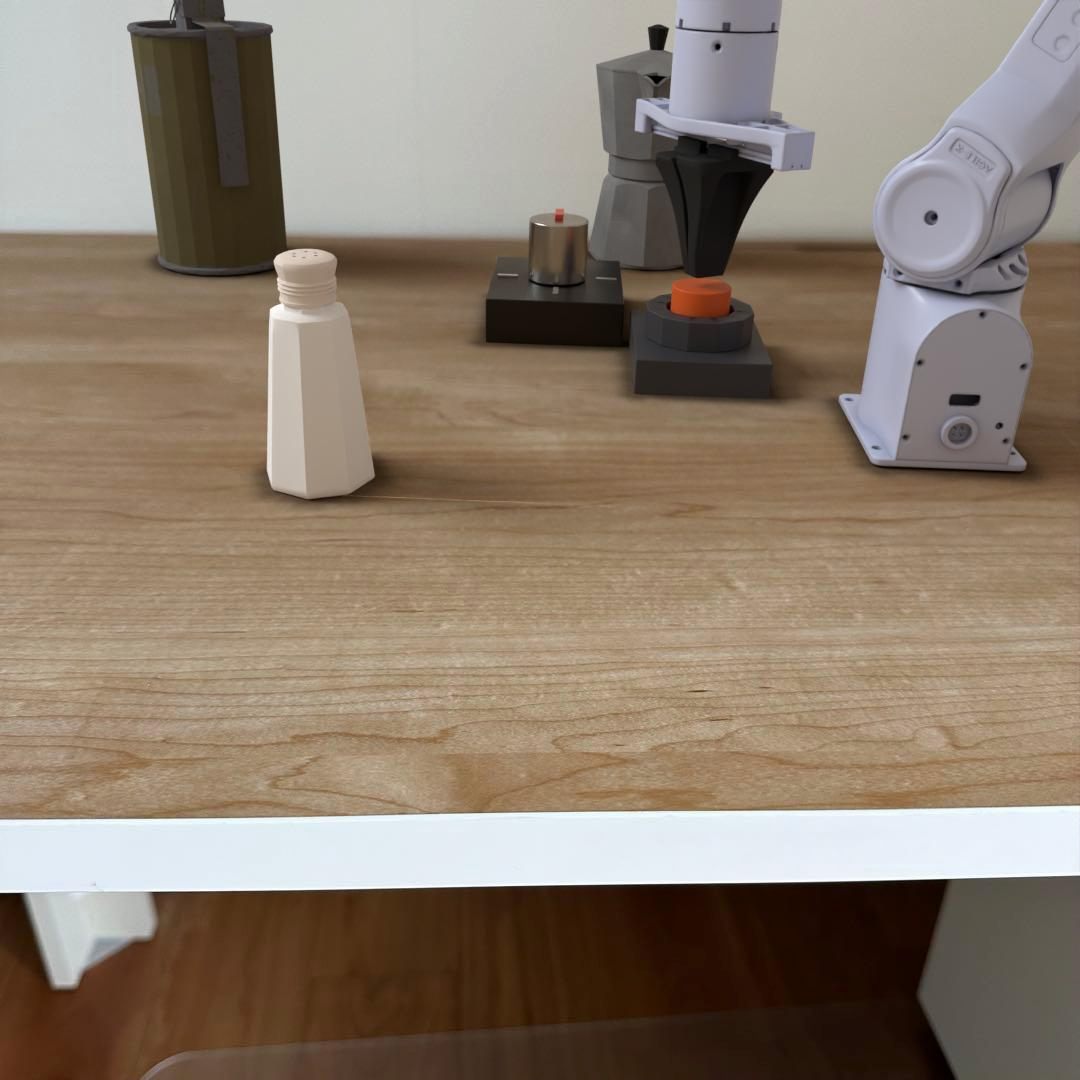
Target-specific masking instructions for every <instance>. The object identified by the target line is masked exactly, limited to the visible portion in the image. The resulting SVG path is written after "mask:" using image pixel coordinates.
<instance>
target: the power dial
mask: <svg viewBox="0 0 1080 1080" xmlns="http://www.w3.org/2000/svg"><path fill="white" fill-rule="evenodd" d="M528 225H529V226H528V257H527V258H528V277H529V279H530V280H532V281H534V282H537V283H540V284H546V285H558V286H562V285H574V284H578V283H581V282H583V281H585V279H586V265H587V260H588V242H589V219H588V218H587V217H585V216H582V215H578V214H573V213H567V212H566V213H565V209H564V208H555V212H547V213H538V214H535V215H532V216H530V217H529V222H528Z"/></svg>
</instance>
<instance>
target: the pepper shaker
mask: <svg viewBox="0 0 1080 1080" xmlns="http://www.w3.org/2000/svg"><path fill="white" fill-rule="evenodd" d="M274 266H275V268H274V269H275V271H276V274H277V278H276V281H277V283H276V284H277V290H278V291H279V297H278V300H279V304H277V305H274V306H273V307H271V308H270V309H269V320H268V364H267V365H268V367H267V368H268V371H267V430H266V431H267V439H266V443H267V444H266V472H267V475H268V479H269V483H270V487H271V490H273V491H276V492H279V493H283V494H287V495H290V496H295V497H297V498H301V499H305V500H312V499H314V500H315V499H321V498H331V497H339V496H348V495H350V494H352V493H354V492H355V491H357V490H358V489H359V488H361V487H362V486H364V485H365V484H367V483H369V482H370V481H372V480H374V478H375V477H376V474H375V468H374V462H373V457H372V456H373V455H372V449H371V443H370V436H369V431H368V424H367V417H366V412H365V411H366V410H365V406H364V399H363V393H362V386H361V379H360V373H359V367H358V366H359V365H358V361H357V360H358V359H357V354H356V348H355V341H354V335H353V330H352V323H351V319H350V315H349V312H348V310H347V308H346V306H345V304H343V303H342V302H341V301H337V300H338V296H337V294H336V293H337V292H336V290H337V288H338V286H337V284H338V282H337V276H336V270H337V266H338V258H337V257H336V256H335V254H333V253H331V252H328V251H326V250H322V249H317V248H296V249H289V251H286V252H283V253H281V254H279V255H277V256H276V258H275V259H274Z"/></svg>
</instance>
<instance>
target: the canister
mask: <svg viewBox="0 0 1080 1080" xmlns="http://www.w3.org/2000/svg"><path fill="white" fill-rule="evenodd" d="M225 10H226V9H225V3H224V0H173V3H172V6H171V9H170V12H169V19H154V20H153V19H151V20H141V21H134V22H128V24H127V25H126V30H127V32H129V36H130V41H131V42H130V43H131V49H132V55H133V56H132V57H133V64H134V72H135V79H136V87H137V93H138V101H139V109H140V115H141V125H142V131H143V138H144V146H145V153H146V161H147V167H148V168H147V169H148V176H149V185H150V191H151V197H152V205H153V212H154V219H155V220H154V221H155V226H156V228H155V229H156V234H157V235H156V236H157V241H158V251H159V253H158V254H157V262H158V263H159V265H160V266H161V267H163V268H164V269H167V270H170V271H172V272H176V273H179V274H186V275H193V276H236V275H237V276H238V275H246V274H254V273H261V272H265V271H270V270H273V269H275V266H274V259H275V258H276V256H277V255H279V254H281V253H283V252H286V251H289V250H290V249H289V247H288V242H287V229H286V228H287V227H286V217H285V216H286V215H285V203H284V189H283V188H284V187H283V177H282V165H281V164H282V163H281V151H280V139H279V137H280V136H279V126H278V124H279V123H278V110H277V99H276V98H277V97H276V87H275V73H274V72H275V71H274V60H273V59H274V58H273V47H272V34H273V32H274V28H273V25H272V24H269V23H266V22H259V21H250V20H249V21H248V20H229V19H228V20H227V19H226V11H225ZM173 11H174V13H173ZM172 15H173V17H172Z"/></svg>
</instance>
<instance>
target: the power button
mask: <svg viewBox="0 0 1080 1080" xmlns="http://www.w3.org/2000/svg"><path fill="white" fill-rule="evenodd" d="M671 285H672V287H671V288H672V289H671V294H672V297H671V309H670V311H672V312H674V313H676V314H681V315H686V316H691V317H706V318H714V317H721V316H728V315H729V309H730V300H731V298H732V289H733V288H732V286H731V285H730V284H729V283H727V282H725V281H722V280H718V279H715V278H708V277H706V278H695V277H686V278H681V279H677V280H675V281H674V282H673V283H672V284H671Z"/></svg>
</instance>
